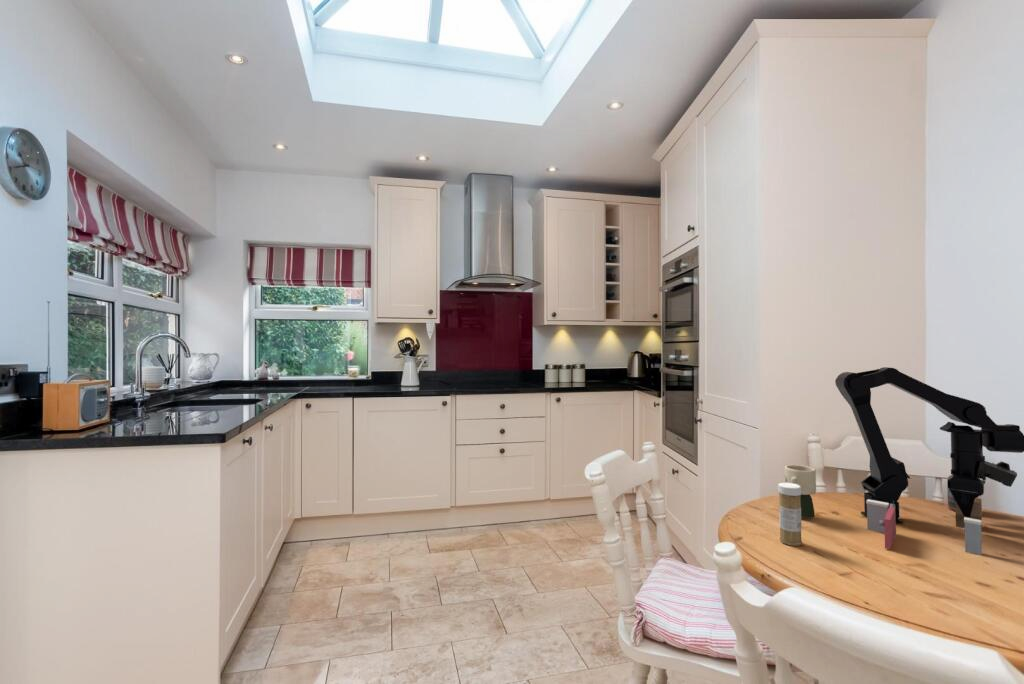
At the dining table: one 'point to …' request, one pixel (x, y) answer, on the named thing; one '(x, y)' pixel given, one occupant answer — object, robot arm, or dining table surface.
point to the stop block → (975, 513)
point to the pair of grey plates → (879, 511)
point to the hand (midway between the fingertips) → (968, 512)
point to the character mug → (803, 486)
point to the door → (889, 527)
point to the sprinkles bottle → (790, 513)
